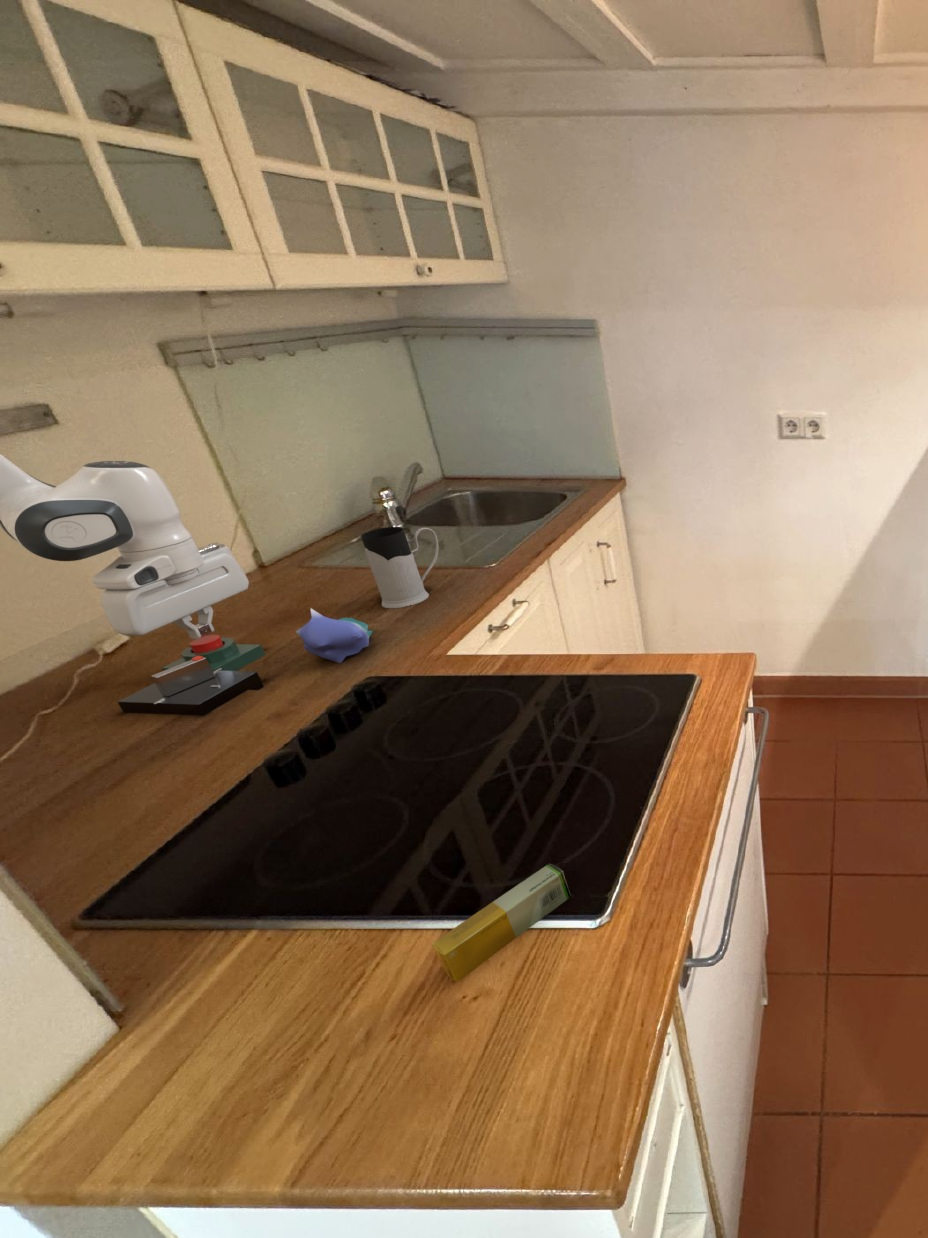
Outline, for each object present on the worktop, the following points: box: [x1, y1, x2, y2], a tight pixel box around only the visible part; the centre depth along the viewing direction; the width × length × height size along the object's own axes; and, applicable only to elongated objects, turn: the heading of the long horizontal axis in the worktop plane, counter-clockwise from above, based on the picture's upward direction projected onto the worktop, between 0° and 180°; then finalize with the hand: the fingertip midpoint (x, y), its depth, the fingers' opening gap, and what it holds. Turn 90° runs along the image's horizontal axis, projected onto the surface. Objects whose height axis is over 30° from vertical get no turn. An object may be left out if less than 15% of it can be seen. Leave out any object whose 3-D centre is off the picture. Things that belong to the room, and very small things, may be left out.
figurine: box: [295, 608, 374, 664], centre depth 120 cm, size 13×12×9 cm
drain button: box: [188, 634, 223, 653], centre depth 117 cm, size 4×4×2 cm
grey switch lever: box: [151, 656, 215, 697], centre depth 106 cm, size 6×2×4 cm, turn 159°
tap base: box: [117, 668, 265, 717], centre depth 108 cm, size 14×11×3 cm
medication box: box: [431, 863, 572, 983], centre depth 65 cm, size 12×3×4 cm, turn 144°
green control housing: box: [161, 637, 266, 671], centre depth 118 cm, size 10×9×4 cm
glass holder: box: [360, 526, 440, 609], centre depth 143 cm, size 9×14×15 cm, turn 146°
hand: (203, 635), depth 116 cm, fingers closed
